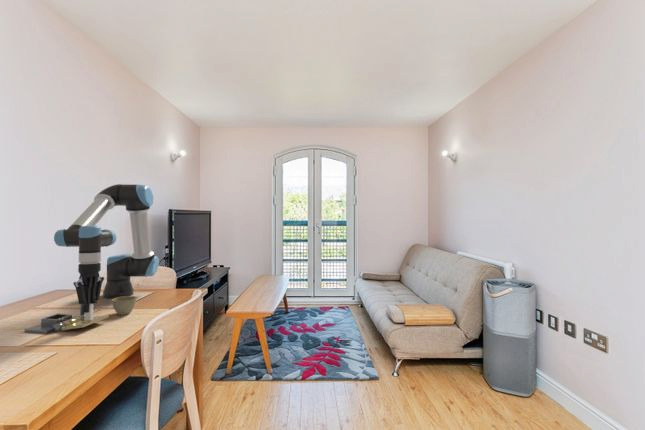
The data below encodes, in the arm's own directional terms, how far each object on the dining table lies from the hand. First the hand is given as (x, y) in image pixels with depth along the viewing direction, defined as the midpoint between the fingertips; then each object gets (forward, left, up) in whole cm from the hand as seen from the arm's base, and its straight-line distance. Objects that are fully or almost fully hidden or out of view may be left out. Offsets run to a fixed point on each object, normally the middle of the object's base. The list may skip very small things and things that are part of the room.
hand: (88, 319), depth 134 cm
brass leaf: (-1, -3, -2) cm, 4 cm away
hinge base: (-1, -14, -3) cm, 14 cm away
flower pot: (-20, 0, -4) cm, 20 cm away
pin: (-14, -15, -3) cm, 20 cm away
